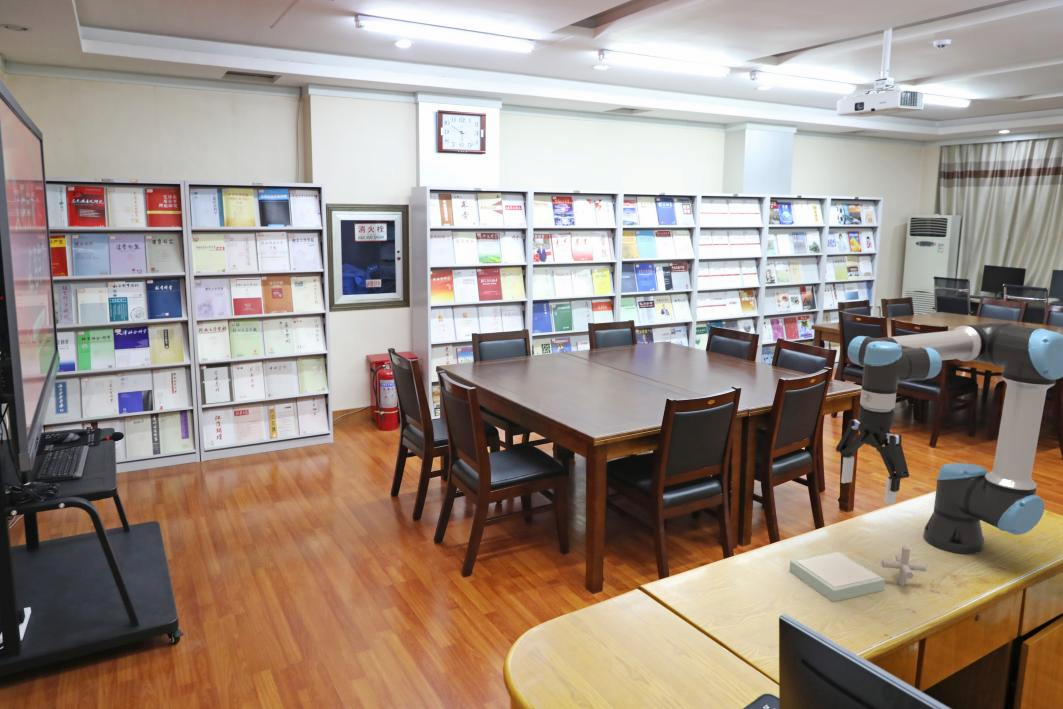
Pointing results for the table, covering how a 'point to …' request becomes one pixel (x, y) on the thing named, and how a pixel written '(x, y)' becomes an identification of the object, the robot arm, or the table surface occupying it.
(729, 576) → the table surface
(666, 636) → the table surface
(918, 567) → the pipe connector
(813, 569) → the stand
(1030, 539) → the table surface
